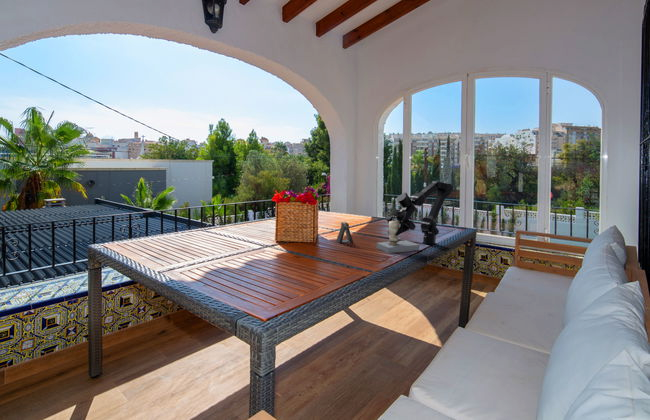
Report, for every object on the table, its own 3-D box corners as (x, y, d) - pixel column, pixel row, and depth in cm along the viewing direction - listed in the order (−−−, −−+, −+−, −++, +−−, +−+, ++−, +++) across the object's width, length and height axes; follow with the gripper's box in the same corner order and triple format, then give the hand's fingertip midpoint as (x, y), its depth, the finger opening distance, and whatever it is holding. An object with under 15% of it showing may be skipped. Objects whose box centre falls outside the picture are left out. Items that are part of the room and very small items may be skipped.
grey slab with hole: (406, 245, 206) (406, 240, 206) (419, 250, 195) (419, 244, 195) (376, 248, 199) (376, 242, 198) (388, 253, 188) (388, 247, 187)
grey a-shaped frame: (350, 240, 218) (350, 221, 217) (353, 242, 212) (353, 222, 211) (336, 241, 216) (336, 221, 214) (338, 243, 210) (339, 223, 209)
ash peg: (391, 244, 200) (392, 220, 198) (401, 246, 196) (402, 221, 194) (385, 246, 195) (386, 221, 194) (395, 248, 191) (396, 223, 190)
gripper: (388, 202, 203) (373, 222, 198) (412, 205, 187) (396, 227, 183) (398, 214, 208) (383, 234, 203) (422, 219, 192) (407, 241, 188)
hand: (392, 234), depth 194 cm, fingers closed on ash peg, 6 cm apart
